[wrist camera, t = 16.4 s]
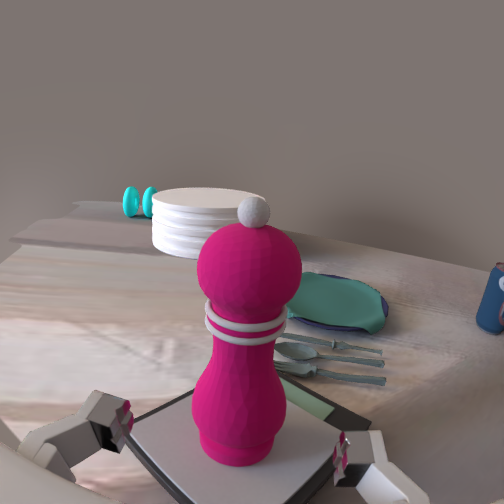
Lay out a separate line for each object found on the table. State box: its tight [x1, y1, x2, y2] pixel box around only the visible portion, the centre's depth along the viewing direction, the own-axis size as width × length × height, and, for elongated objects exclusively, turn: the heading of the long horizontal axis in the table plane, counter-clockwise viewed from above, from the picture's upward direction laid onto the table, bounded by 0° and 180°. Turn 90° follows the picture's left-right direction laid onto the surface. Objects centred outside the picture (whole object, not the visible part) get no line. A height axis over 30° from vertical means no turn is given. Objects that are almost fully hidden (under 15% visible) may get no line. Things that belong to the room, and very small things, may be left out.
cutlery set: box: [273, 272, 388, 386], centre depth 48 cm, size 20×30×2 cm, turn 164°
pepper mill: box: [191, 197, 302, 467], centre depth 20 cm, size 7×7×20 cm
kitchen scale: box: [124, 370, 371, 504], centre depth 25 cm, size 18×16×2 cm
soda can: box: [476, 263, 504, 335], centre depth 44 cm, size 7×7×12 cm
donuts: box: [123, 186, 157, 218], centre depth 99 cm, size 10×10×10 cm
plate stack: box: [152, 188, 265, 259], centre depth 80 cm, size 28×28×12 cm
